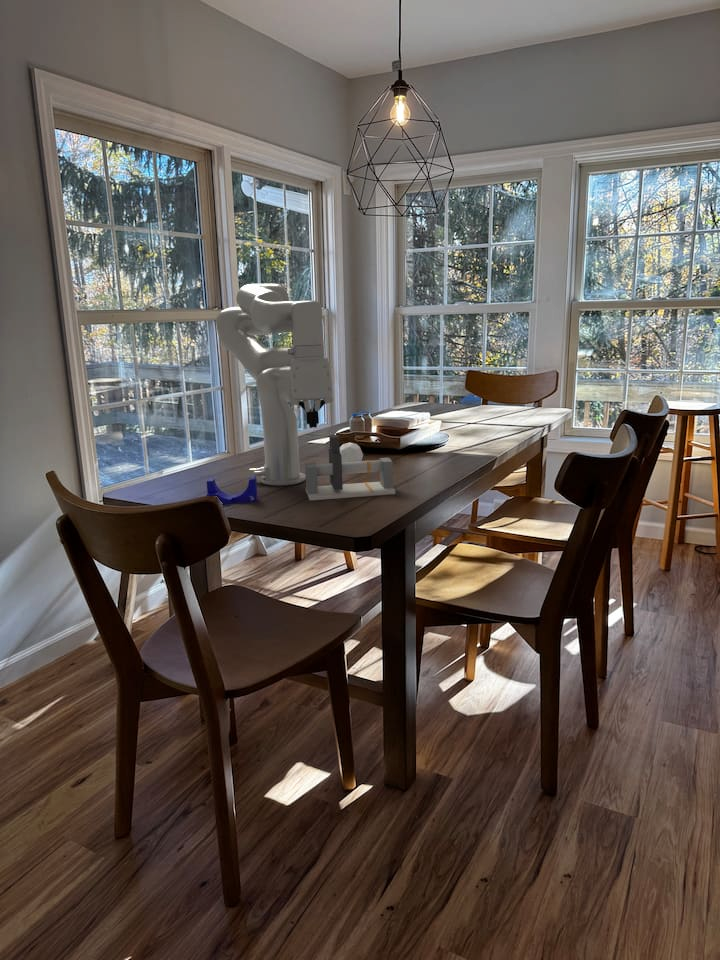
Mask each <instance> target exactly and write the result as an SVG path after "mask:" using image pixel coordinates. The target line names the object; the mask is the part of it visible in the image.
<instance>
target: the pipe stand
mask: <svg viewBox="0 0 720 960" xmlns="http://www.w3.org/2000/svg"><path fill="white" fill-rule="evenodd" d="M393 462H394V461H393V460H391V458H390V457H380V458H379V459H378V460H374V459H373V460H362V461H359V462H344V463H342V475H349V474H350V475H352V474H364V473H366V474H369V473H378V472H379V481H372V482H371V481H370V482H367V481H364V482H356V483H354V482H353V483H342V484H343V490H334V488H333V486H332V485H331V484H327V485H318V477H321V476H330V475H333V464H332V463H330V464H329V463H317V464H316V463H315V462H305V463H304V467H305V468H304V469H305V476H306V479H305V483H306V485H305V486H306V487H305V492H306V494H307V497H308V500H309V501H319V500H333V499H346V498H360V497H372V496H375V497H376V496H386V495H387V496H388V495H396V489H395V488H394V473H393V472H394V471H393V468H394V467H393V466H394V465H393Z"/></svg>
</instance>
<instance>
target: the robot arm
mask: <svg viewBox="0 0 720 960" xmlns="http://www.w3.org/2000/svg"><path fill="white" fill-rule="evenodd" d="M289 296H290V295H289V293H288V290H287V289H286V288H285V287H284V286H283V285H282V284H280V283H249V284H244V285H243V286H242V287H240V288H239V290H238V291H237V294H236V303H237V306H232V307H227V308H225V309H223V310H221V311H220V312H219V313H218V314H217V316H216V321H215V324H216V325H215V326H216V330H217V331H216V332H217V335H218V337H219V339H220V342H221V343H222V345H223V346H224V348H225V349H226V350H227V351H228V352H229V353H230V354H231V355H233V356H234V357H235V358H236V359H237V360H238V361H239V362H240V363H241V365H242V366H243V368H244V369H245V370H246V372H248V374H249V375H250V377H251V378H253V380H254V381H256V382H255V384H256V391H257V394H258V399H259V404H260V410H261V418H262V419H261V420H262V432H263V433H262V434H263V436H262V437H263V448H264V450H263V451H264V464H263V466H260V467H256V468H254V467H253V468H249V469H248V470H249V476H253V477H259V476H261V477H260V482H261V483H262V484H264V485H267V486H276V487H277V486H291V485H296V484H297V485H298V484H300V483H303V482H306V473H305V474H304V473H303V472H301V471H300V470H301V469H300V467H301V466H300V453H299V452H300V451H299V450H300V449H299V432H298V419H297V415H296V413H295V412H294V410H293V409H292V408H291V406H290V405H293V406H299V407H301V409H303V410H304V411H305V418H306V419H305V421H306V425H308V427H309V428H310V429H314V428H317V427H318V425H319V424H320V419H319V417H320V415H319V411H320V410H321V409H322V408H323V406H325V405H328V404H330V403H333V402H334V398H333V382H332V375H331V367H330V366H331V365H330V363H329V358H328V357H325V345H324V343H325V341H324V337H325V336H324V320H323V307H322V304H321V302H320V301H317V300H298V301H290V298H289ZM279 333H281V334H282V333H292V347H266V345H265V344H264V343H263V342H262V341H261V340H260V339H258V337H255V336H266V335H271V334H279ZM312 400H314V401H313V408H312V409H311V407H310V403H309V402H310V401H312ZM289 403H290V404H289Z"/></svg>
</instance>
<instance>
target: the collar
mask: <svg viewBox="0 0 720 960" xmlns="http://www.w3.org/2000/svg"><path fill="white" fill-rule="evenodd" d="M328 437H329V448H328V464H330V463H332V464H333V475H329V484H330V485H332V486H333V488H334V490H343V484H344V483H343V474H342V457H341V454H340V447H341V445H340V437H339V435H338V434H331V435H330V434H329V436H328Z"/></svg>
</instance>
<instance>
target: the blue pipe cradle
mask: <svg viewBox="0 0 720 960" xmlns="http://www.w3.org/2000/svg"><path fill="white" fill-rule="evenodd" d="M257 483H258V482H257V476H250V477H249V478H248V486H247V487H246V488H245V489H244V490H243V491H242V492H239V493H237V494H229V493H227V492H224V491H223V490H221V489H220V488H219V487H218V484H217V483H216V480H215V478H207V480H206V490H207V491H206V495H205V496H206V497H207V496H217V497H218V498H219V500H220V501H221V502H222V503H223V505H222V506H227V505H226V504H228V506H230V505H229V504H232V505H233V504H236V503H237V504H239V503H257V501H258V500H259V497H258V485H257ZM252 497H253V498H252ZM224 504H225V505H224Z"/></svg>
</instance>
